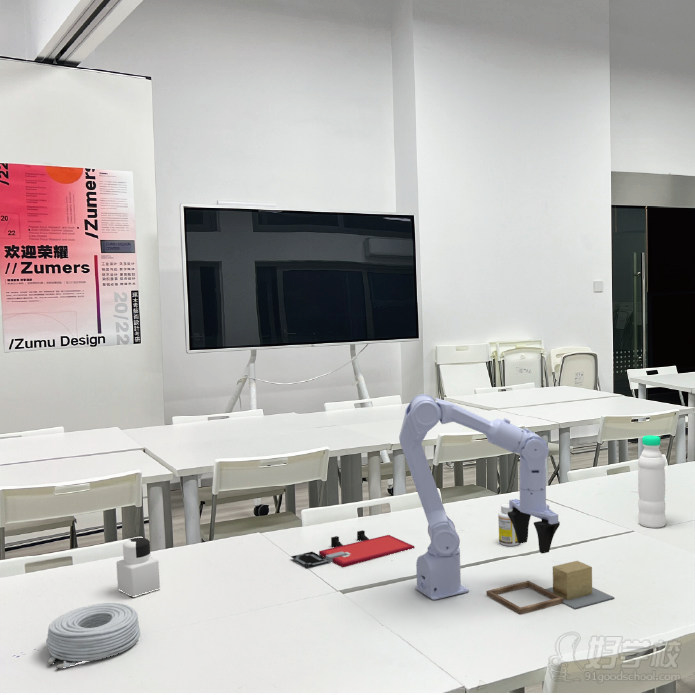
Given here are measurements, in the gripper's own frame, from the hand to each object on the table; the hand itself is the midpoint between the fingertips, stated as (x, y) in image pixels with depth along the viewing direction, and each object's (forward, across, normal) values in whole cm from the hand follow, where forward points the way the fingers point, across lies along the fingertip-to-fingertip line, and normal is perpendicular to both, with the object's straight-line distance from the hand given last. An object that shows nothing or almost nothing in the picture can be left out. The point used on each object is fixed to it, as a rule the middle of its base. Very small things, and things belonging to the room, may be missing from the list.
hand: (533, 547), depth 170 cm
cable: (+10, +20, +92) cm, 95 cm away
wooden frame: (+9, -4, +6) cm, 12 cm away
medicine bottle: (+10, +44, +79) cm, 91 cm away
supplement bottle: (+10, +27, -14) cm, 32 cm away
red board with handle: (+10, +42, +25) cm, 50 cm away
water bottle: (+9, +20, -57) cm, 61 cm away
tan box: (+9, -7, -5) cm, 12 cm away
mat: (+9, -8, -5) cm, 13 cm away
